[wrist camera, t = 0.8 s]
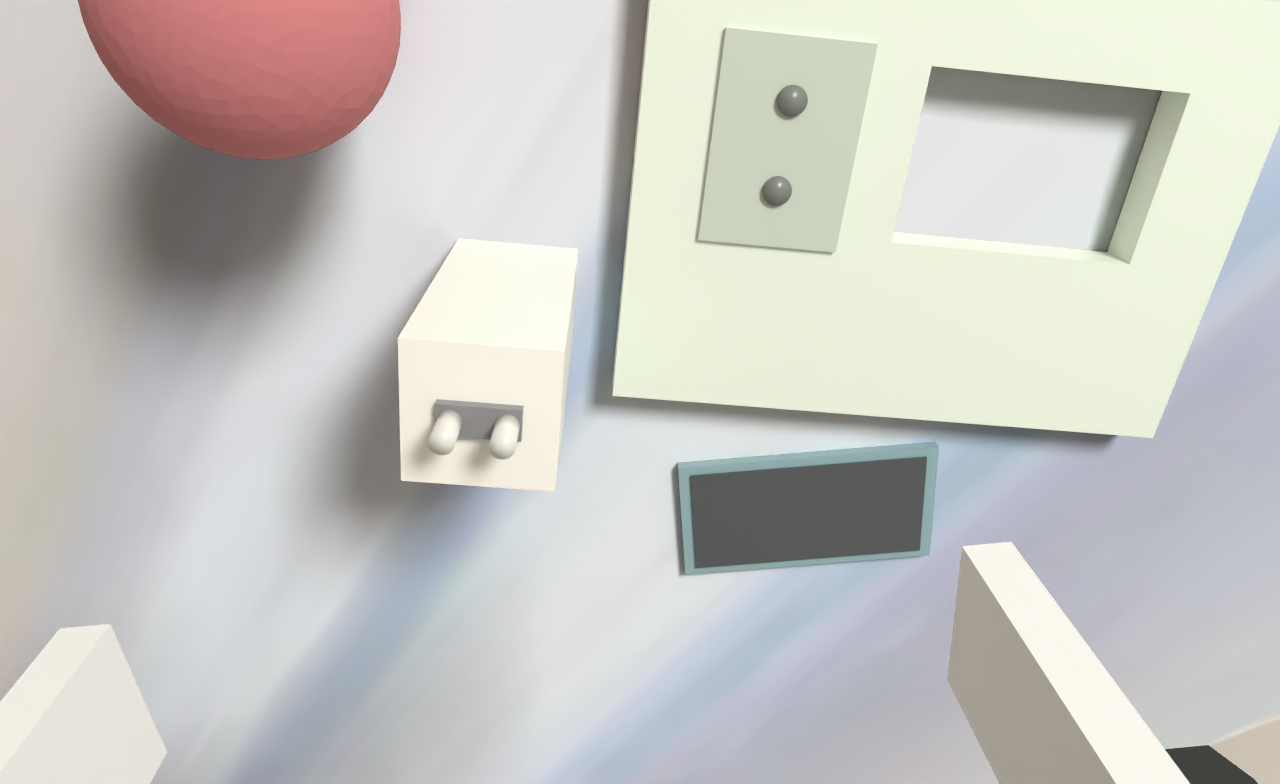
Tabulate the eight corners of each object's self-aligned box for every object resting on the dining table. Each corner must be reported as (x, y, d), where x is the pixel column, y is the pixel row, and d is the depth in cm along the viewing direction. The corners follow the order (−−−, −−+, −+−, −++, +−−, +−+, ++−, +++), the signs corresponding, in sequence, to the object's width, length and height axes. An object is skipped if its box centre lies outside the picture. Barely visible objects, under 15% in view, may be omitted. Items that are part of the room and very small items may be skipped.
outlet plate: (612, 378, 35) (612, 400, 33) (654, -67, 28) (657, -70, 26) (1131, 419, 36) (1158, 442, 34) (1291, 6, 29) (1335, 8, 28)
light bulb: (338, 152, 31) (187, 245, 20) (189, -34, 28) (-78, -44, 17) (497, 34, 29) (428, 65, 18) (356, -175, 26) (177, -284, 16)
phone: (683, 561, 40) (685, 576, 39) (676, 456, 37) (678, 469, 36) (922, 542, 39) (930, 557, 38) (930, 435, 37) (939, 448, 36)
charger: (457, 348, 34) (387, 511, 24) (458, 238, 32) (383, 361, 22) (570, 358, 34) (552, 522, 24) (578, 248, 32) (561, 375, 22)
